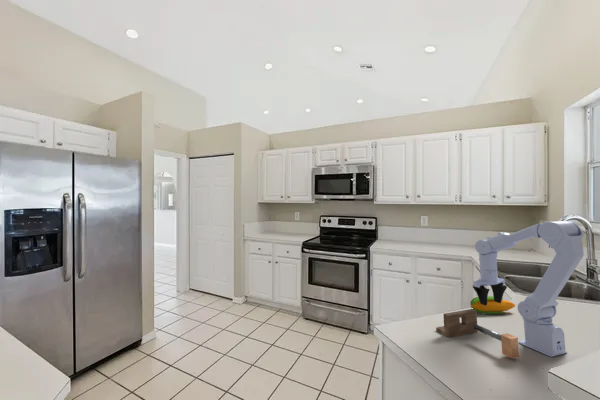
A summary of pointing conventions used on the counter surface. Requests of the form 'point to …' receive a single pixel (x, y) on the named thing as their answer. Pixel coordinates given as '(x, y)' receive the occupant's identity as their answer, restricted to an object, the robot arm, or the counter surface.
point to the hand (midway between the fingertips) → (490, 303)
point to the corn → (491, 306)
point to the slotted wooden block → (458, 323)
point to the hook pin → (503, 342)
